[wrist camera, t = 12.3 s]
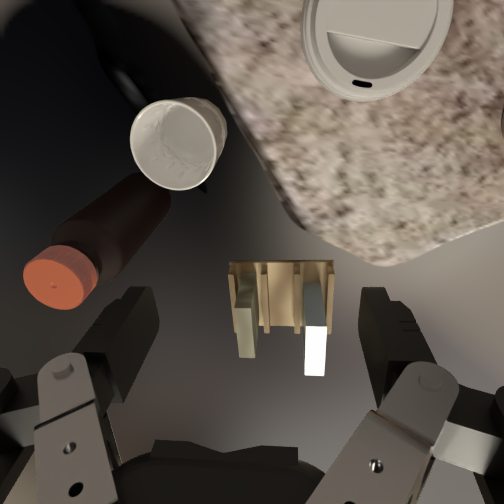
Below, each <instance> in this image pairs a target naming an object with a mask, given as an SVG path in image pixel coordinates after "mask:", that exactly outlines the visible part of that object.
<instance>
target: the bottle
mask: <svg viewBox="0 0 504 504" xmlns="http://www.w3.org/2000/svg"><path fill="white" fill-rule="evenodd" d="M170 207H171V196H170V193H169V190H168V189H167V188H164V187H162V186H159V185H157V184H156V183H154V182H153V181H151V180H150V179H149V178H148V177H146V176H145V175H144V173H141V172H139V173H134V174H131V175H129V176H128V177H126V178H124V179H123V180H122V181H120V182H119V183H117V184H116V185H115V186H113V187H112V188H110V189H109V190H107V191H106V192H105V193H103V194H102V195H100V196H99V197H98V198H96V199H95V200H93V201H92V202H90V203H89V204H88V205H86V206H85V207H84V208H82V209H81V210H79V211H78V212H76V213H75V214H73V215H72V216H71V217H69V218H68V219H66V220H65V221H64V222H62V223H61V224H59V225H58V226H57V227H56V229H55V230H54V232H53V233H52V237H51V243H50V247H49V248H47V249H45V250H44V251H43V252H41V253H40V254H39V255H37V256H36V257H35V258H34V259H32V260H31V261H30V262H28V263H27V265H26V267H25V269H24V273H23V274H24V275H23V276H24V277H23V278H24V282H25V285H26V287H27V289H28V290H29V291H30V293H31V294H32V295H33V296H34V297H35V298H36V299H37V300H39V301H40V302H42V303H43V304H45V305H48V306H50V307H52V308H56V309H63V310H64V309H71V308H75V307H77V306H78V305H80V304H81V303H82V302H83V300H84V299H85V298H86V297H87V296H88V295H89V293H90V292H91V291H92V290H93V288H94V287H95V286H96V285H97V284H105V283H108V282H110V281H111V280H114V279H115V278H116V277H117V276H118V275H119V274H120V273H121V272H122V270H123V269H124V268H125V267H126V265H127V264H128V263H129V262H130V260H131V259H132V258H133V257H134V255H135V254H136V253H137V252H138V250H139V249H140V248H141V247H142V245H143V244H144V243H145V242H146V240H147V239H148V238H149V237H150V236H151V234H152V233H153V232H154V231H155V229H156V228H157V227H158V226H159V224H160V223H161V222H162V221H163V219H164V218H165V217H166V216H167V214H168V213H169V210H170Z"/></svg>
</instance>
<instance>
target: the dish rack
mask: <svg viewBox="0 0 504 504" xmlns="http://www.w3.org/2000/svg"><path fill="white" fill-rule="evenodd" d="M229 264H230V269H229V273H228V279H229V288H230V297H231V305H232V314H233V322H234V331H235V333H237V338H238V347H239V356H240V358H255V353H256V344H257V336H258V327H259V325H262V326H264V333H270V326H295V334H300V326H302V320H303V283H321V288H322V295H323V302H324V309H325V316H326V323H327V334H331V326H332V310H333V293H334V276H335V274H334V269H333V265H334V261H333V260H264V261H263V260H262V261H260V260H258V261H230V263H229Z"/></svg>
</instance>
